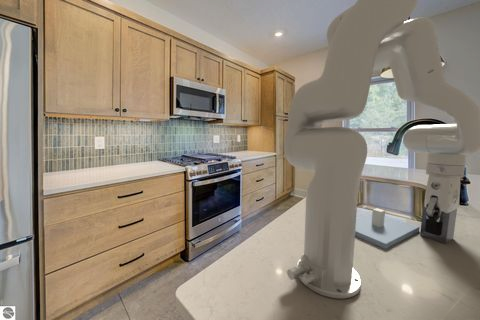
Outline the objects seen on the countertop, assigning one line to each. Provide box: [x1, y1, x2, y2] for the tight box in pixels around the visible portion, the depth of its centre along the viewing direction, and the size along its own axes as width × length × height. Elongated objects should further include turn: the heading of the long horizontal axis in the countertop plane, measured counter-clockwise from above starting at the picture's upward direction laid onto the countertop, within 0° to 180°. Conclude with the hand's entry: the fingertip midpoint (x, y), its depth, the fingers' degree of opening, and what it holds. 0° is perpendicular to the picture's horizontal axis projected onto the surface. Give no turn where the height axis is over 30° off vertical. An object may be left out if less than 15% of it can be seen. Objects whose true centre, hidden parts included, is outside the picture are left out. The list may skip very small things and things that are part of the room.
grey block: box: [419, 205, 458, 245], centre depth 58 cm, size 6×6×9 cm
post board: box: [355, 207, 421, 250], centre depth 63 cm, size 20×14×6 cm
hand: (437, 230), depth 58 cm, fingers closed on grey block, 5 cm apart
